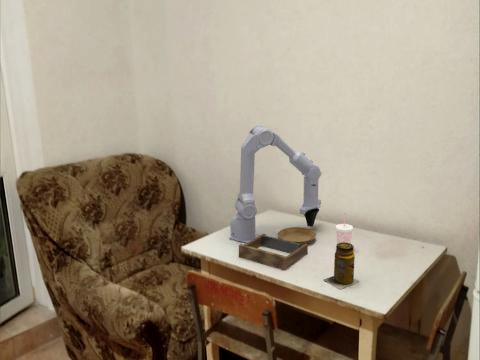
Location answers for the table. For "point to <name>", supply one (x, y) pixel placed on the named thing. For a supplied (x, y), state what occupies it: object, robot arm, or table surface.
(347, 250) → the condiment
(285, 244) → the pusher plate
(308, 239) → the plant saucer
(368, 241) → the table surface
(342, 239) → the beverage cup
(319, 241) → the table surface
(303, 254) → the brown wooden open box
